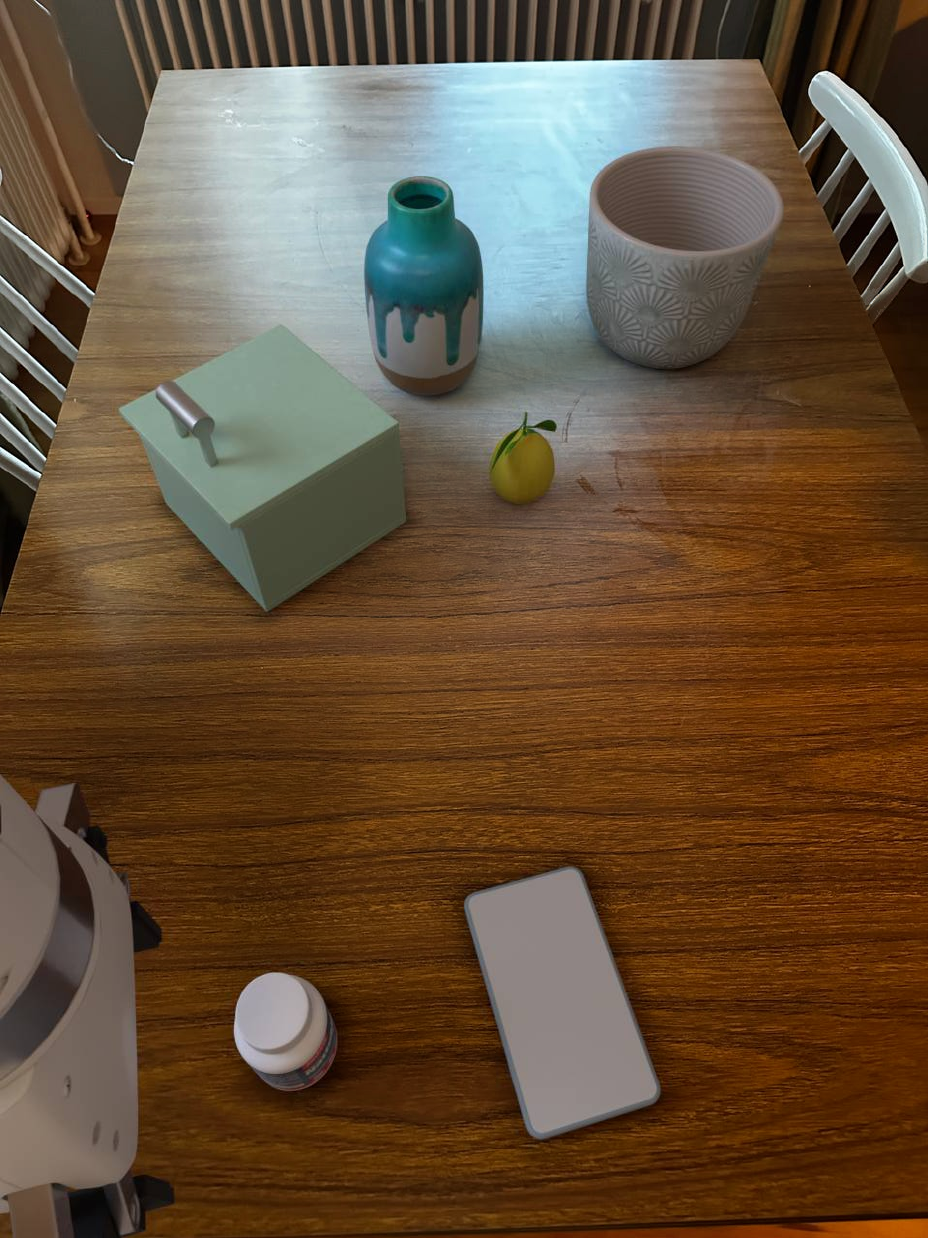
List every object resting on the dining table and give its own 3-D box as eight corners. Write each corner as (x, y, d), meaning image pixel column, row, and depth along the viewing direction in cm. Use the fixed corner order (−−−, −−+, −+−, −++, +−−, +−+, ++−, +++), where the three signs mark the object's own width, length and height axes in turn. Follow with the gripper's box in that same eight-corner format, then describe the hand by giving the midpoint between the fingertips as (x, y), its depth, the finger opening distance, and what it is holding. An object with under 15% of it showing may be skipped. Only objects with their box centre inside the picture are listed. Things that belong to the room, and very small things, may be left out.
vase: (382, 421, 89) (365, 238, 74) (366, 348, 95) (346, 164, 80) (492, 405, 91) (498, 222, 75) (469, 334, 96) (470, 150, 81)
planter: (549, 303, 99) (561, 162, 87) (696, 272, 102) (729, 131, 90) (613, 410, 90) (637, 271, 78) (773, 373, 93) (821, 232, 81)
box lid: (231, 531, 68) (214, 476, 63) (120, 415, 74) (98, 358, 70) (399, 429, 73) (395, 373, 69) (283, 331, 80) (271, 273, 76)
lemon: (487, 529, 82) (490, 445, 74) (476, 479, 85) (477, 394, 77) (563, 519, 83) (574, 436, 74) (549, 470, 86) (558, 385, 78)
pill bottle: (325, 1100, 57) (305, 1073, 49) (241, 1083, 57) (209, 1054, 50) (347, 1007, 60) (331, 970, 52) (267, 992, 60) (239, 953, 53)
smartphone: (579, 862, 64) (666, 1099, 56) (578, 867, 65) (663, 1102, 56) (460, 895, 63) (530, 1143, 54) (460, 900, 64) (529, 1145, 55)
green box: (266, 612, 77) (241, 525, 68) (165, 503, 84) (130, 411, 75) (406, 521, 82) (399, 430, 74) (301, 425, 89) (283, 331, 80)
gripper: (-176, 682, 28) (37, 880, 42) (-308, 1423, 19) (24, 1360, 33) (84, 635, 29) (208, 844, 43) (85, 1317, 20) (244, 1301, 34)
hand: (129, 1066), depth 38 cm, fingers open, 9 cm apart
